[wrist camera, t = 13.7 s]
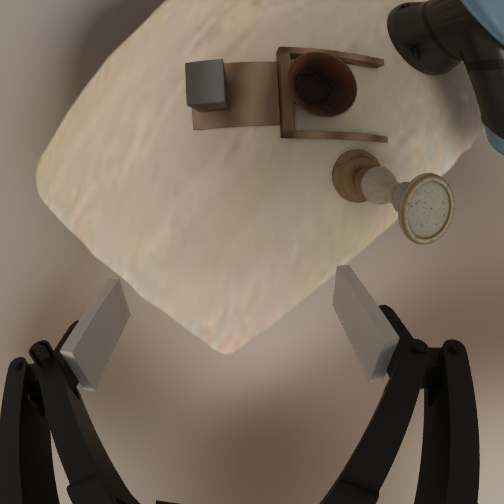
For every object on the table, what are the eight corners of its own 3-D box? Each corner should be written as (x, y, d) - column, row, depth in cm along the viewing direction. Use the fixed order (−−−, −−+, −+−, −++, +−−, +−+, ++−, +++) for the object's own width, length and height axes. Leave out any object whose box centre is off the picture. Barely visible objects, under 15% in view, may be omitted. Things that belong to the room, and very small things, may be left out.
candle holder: (382, 195, 43) (457, 239, 25) (337, 206, 44) (398, 260, 25) (375, 145, 40) (457, 163, 21) (327, 154, 40) (393, 175, 22)
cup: (263, 68, 34) (283, 51, 25) (318, 64, 34) (350, 50, 25) (274, 122, 38) (297, 121, 29) (328, 115, 38) (362, 114, 29)
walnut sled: (375, 63, 33) (415, 47, 22) (378, 141, 39) (421, 148, 28) (191, 57, 33) (173, 31, 21) (195, 142, 38) (178, 146, 27)
